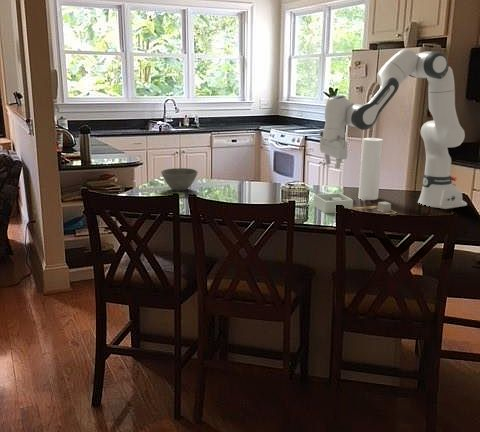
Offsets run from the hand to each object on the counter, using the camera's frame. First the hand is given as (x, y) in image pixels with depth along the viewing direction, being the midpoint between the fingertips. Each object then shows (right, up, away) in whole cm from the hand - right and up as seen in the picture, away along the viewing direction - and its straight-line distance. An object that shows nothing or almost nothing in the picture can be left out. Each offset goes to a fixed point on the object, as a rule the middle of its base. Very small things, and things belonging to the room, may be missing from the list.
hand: (332, 166), depth 227 cm
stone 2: (+24, -20, +4) cm, 31 cm away
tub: (+2, -19, +9) cm, 21 cm away
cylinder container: (+23, -14, +29) cm, 39 cm away
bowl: (-72, -9, +43) cm, 84 cm away
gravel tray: (+19, -21, +3) cm, 28 cm away
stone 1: (+4, -18, +12) cm, 22 cm away
